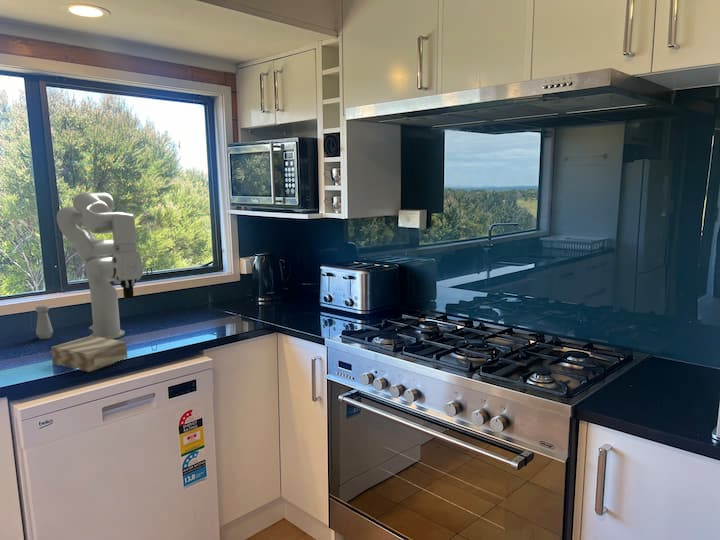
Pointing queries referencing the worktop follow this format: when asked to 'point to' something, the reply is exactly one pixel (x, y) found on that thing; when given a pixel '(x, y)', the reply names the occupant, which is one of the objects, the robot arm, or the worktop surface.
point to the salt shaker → (43, 323)
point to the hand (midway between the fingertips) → (128, 297)
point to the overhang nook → (89, 353)
